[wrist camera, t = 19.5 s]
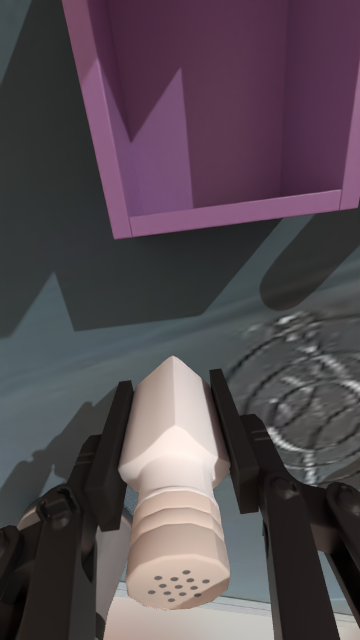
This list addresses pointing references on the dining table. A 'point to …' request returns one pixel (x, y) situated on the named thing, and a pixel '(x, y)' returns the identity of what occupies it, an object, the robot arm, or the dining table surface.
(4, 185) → the dining table surface
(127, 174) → the file box
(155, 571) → the salt shaker
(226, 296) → the dining table surface
